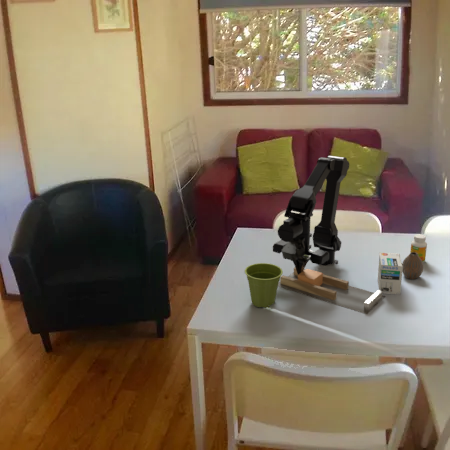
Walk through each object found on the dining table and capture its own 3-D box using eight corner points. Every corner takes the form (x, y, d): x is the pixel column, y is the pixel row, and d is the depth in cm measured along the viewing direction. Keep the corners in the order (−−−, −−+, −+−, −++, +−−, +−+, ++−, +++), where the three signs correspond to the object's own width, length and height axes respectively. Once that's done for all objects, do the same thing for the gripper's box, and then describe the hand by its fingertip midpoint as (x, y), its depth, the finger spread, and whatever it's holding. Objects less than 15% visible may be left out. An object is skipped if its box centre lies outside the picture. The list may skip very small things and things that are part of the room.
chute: (296, 272, 191) (296, 263, 190) (385, 298, 171) (386, 289, 170) (274, 287, 180) (274, 278, 179) (366, 316, 161) (367, 307, 160)
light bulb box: (400, 297, 172) (403, 266, 168) (378, 295, 173) (381, 265, 170) (397, 282, 182) (400, 252, 178) (376, 280, 183) (379, 251, 179)
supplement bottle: (408, 262, 196) (411, 237, 193) (410, 256, 201) (412, 232, 197) (424, 264, 194) (427, 239, 191) (425, 258, 199) (428, 234, 195)
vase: (423, 274, 187) (425, 251, 184) (420, 282, 181) (423, 258, 178) (402, 270, 190) (404, 248, 187) (399, 279, 184) (401, 255, 181)
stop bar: (377, 296, 171) (377, 289, 170) (381, 298, 170) (382, 291, 169) (363, 309, 164) (364, 302, 163) (368, 311, 163) (368, 303, 162)
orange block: (306, 279, 184) (307, 268, 182) (322, 283, 180) (322, 273, 179) (297, 285, 179) (297, 274, 178) (313, 290, 176) (313, 279, 174)
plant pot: (271, 315, 163) (271, 282, 159) (238, 306, 169) (237, 274, 165) (288, 299, 172) (289, 267, 168) (256, 290, 178) (256, 260, 174)
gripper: (263, 233, 175) (263, 276, 181) (313, 246, 164) (311, 291, 170) (282, 223, 183) (281, 264, 189) (331, 235, 172) (328, 278, 178)
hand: (299, 274), depth 181 cm, fingers closed
